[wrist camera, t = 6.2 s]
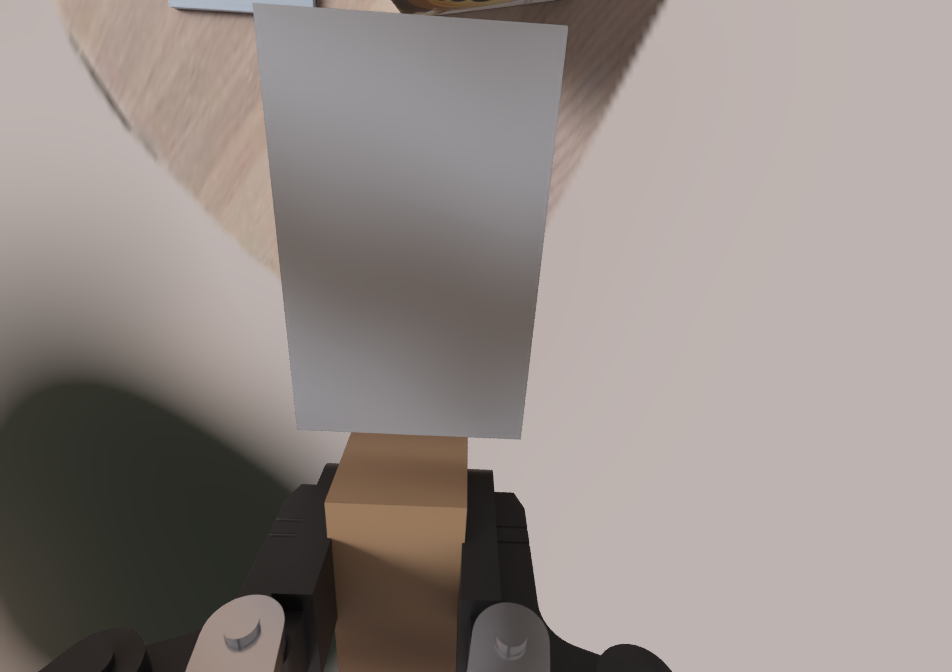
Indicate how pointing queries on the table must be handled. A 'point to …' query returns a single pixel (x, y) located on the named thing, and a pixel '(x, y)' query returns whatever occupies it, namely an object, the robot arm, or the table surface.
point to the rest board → (233, 4)
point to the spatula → (406, 283)
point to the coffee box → (453, 5)
